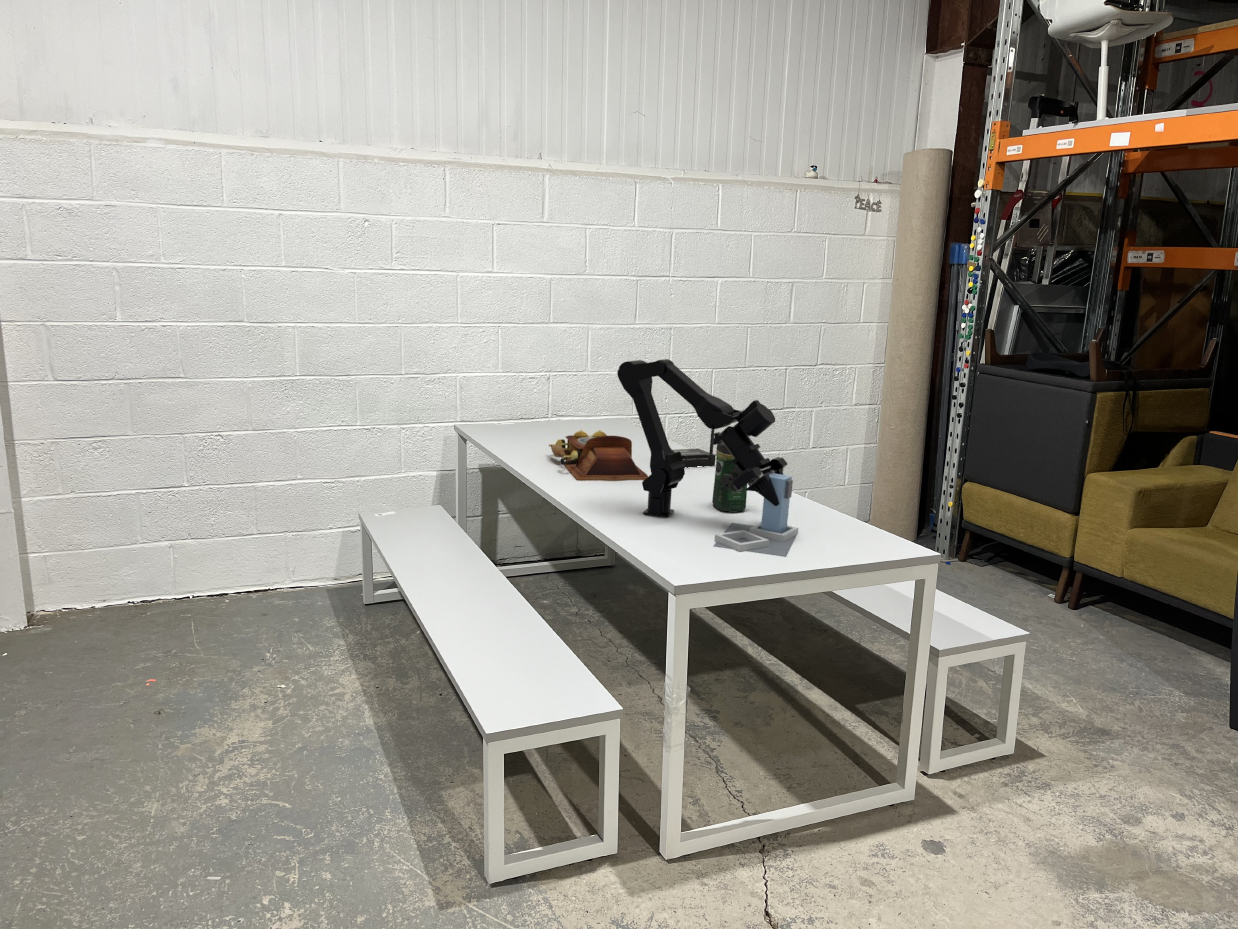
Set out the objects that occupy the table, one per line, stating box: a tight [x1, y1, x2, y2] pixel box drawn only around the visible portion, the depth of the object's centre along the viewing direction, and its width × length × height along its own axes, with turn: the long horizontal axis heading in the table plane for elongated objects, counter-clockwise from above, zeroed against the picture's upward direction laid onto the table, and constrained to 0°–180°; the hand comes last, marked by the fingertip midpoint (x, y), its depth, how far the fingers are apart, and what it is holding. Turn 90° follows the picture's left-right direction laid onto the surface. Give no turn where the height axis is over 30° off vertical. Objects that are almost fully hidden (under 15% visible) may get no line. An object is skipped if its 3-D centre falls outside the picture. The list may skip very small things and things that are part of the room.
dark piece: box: [672, 429, 716, 468], centre depth 289 cm, size 20×14×17 cm
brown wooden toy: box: [548, 429, 649, 482], centre depth 280 cm, size 24×12×40 cm
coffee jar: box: [711, 442, 748, 513], centre depth 238 cm, size 10×8×19 cm
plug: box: [760, 473, 794, 534], centre depth 213 cm, size 5×4×13 cm
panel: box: [712, 521, 799, 558], centre depth 210 cm, size 22×17×2 cm
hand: (781, 503), depth 212 cm, fingers closed on plug, 4 cm apart
